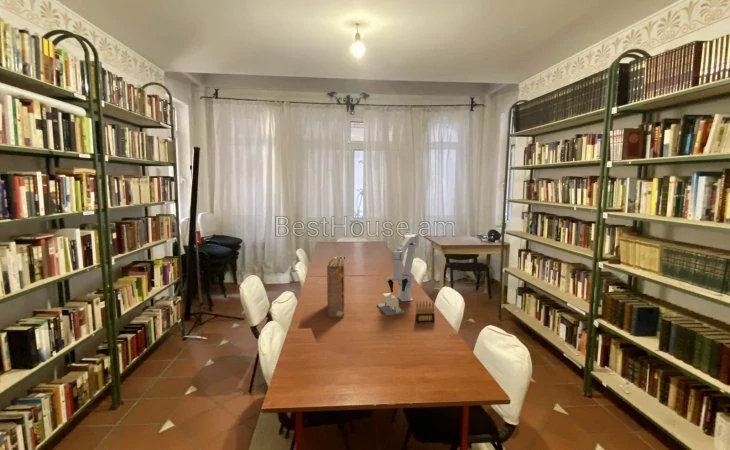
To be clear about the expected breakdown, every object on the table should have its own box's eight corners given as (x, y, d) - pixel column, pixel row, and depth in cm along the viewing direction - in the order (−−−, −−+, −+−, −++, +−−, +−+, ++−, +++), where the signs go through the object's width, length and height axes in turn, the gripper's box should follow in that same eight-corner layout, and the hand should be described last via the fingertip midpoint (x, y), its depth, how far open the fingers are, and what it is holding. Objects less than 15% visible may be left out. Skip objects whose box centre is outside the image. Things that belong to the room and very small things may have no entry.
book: (330, 303, 241) (329, 257, 238) (344, 303, 242) (344, 257, 238) (327, 318, 216) (327, 266, 213) (343, 317, 216) (343, 266, 213)
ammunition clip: (415, 322, 209) (416, 301, 208) (414, 321, 211) (415, 300, 210) (434, 322, 210) (435, 301, 209) (433, 321, 212) (434, 300, 210)
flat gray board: (377, 305, 237) (377, 299, 237) (393, 304, 240) (393, 297, 240) (386, 315, 220) (386, 308, 220) (404, 313, 223) (404, 306, 223)
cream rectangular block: (382, 299, 236) (382, 293, 235) (390, 299, 237) (390, 293, 236) (390, 307, 222) (390, 300, 222) (398, 306, 224) (398, 299, 223)
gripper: (388, 272, 228) (388, 294, 230) (411, 270, 232) (410, 292, 234) (385, 269, 235) (384, 291, 237) (406, 268, 239) (406, 289, 241)
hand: (397, 291), depth 236 cm, fingers open, 7 cm apart
